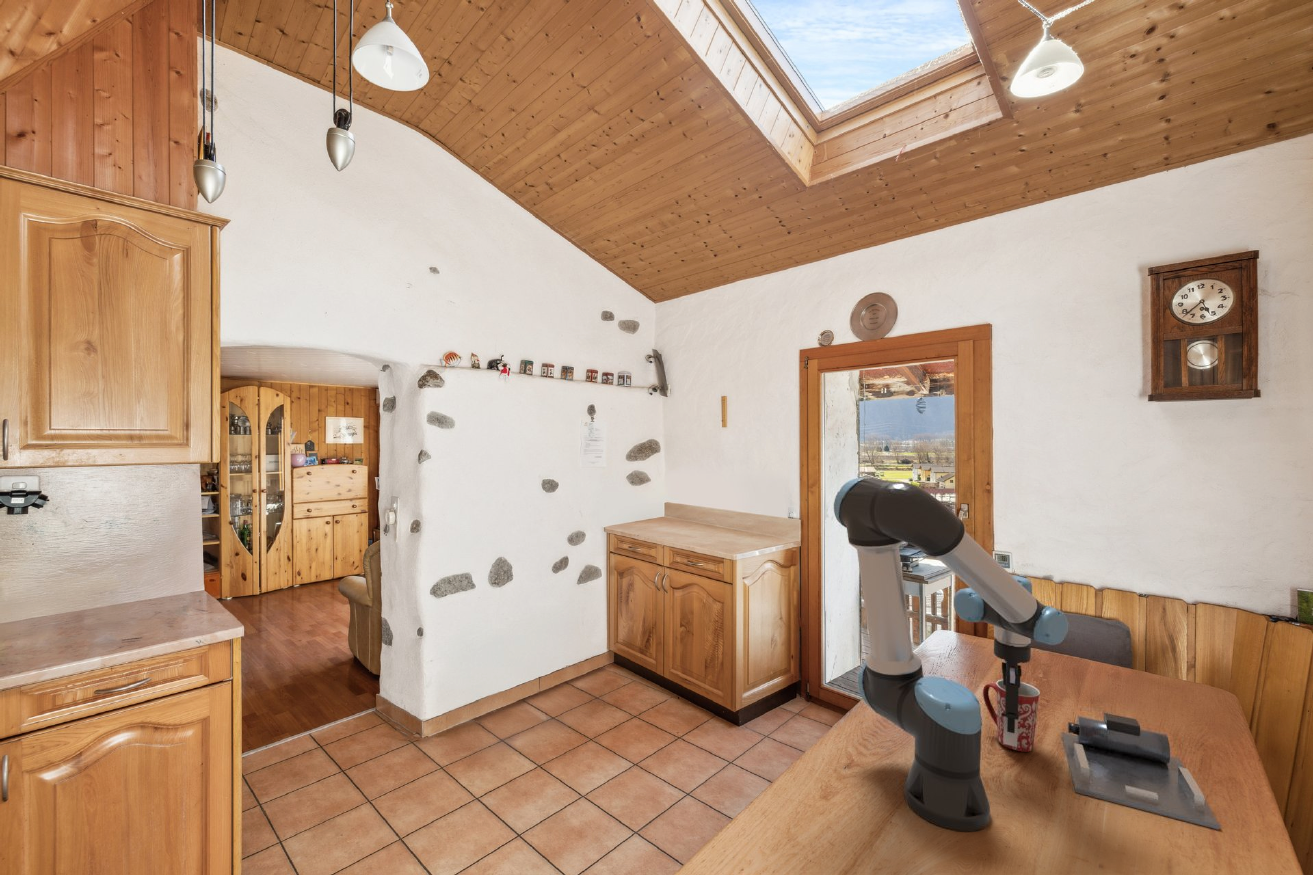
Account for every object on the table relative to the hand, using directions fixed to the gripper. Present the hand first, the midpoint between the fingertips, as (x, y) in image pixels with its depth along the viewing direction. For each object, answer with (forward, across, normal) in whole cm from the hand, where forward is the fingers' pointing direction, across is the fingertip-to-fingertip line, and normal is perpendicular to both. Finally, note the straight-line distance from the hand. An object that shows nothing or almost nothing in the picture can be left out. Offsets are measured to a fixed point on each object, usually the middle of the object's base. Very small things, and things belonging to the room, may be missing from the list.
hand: (1009, 735), depth 137 cm
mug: (+2, +1, 0) cm, 2 cm away
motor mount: (+2, -2, -22) cm, 22 cm away
